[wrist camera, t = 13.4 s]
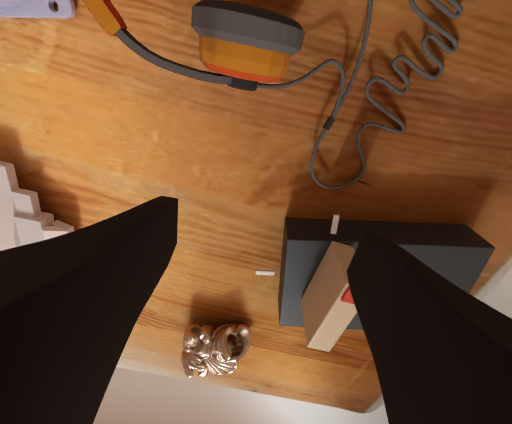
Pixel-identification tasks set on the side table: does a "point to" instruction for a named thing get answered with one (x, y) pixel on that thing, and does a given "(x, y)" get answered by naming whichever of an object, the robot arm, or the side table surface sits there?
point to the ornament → (214, 348)
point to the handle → (328, 299)
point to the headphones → (268, 52)
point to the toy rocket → (23, 214)
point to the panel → (350, 233)
